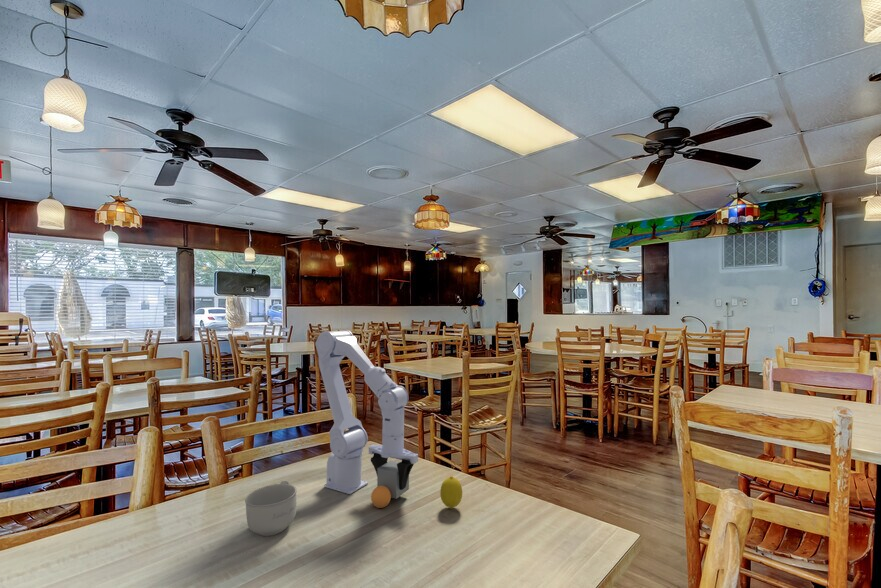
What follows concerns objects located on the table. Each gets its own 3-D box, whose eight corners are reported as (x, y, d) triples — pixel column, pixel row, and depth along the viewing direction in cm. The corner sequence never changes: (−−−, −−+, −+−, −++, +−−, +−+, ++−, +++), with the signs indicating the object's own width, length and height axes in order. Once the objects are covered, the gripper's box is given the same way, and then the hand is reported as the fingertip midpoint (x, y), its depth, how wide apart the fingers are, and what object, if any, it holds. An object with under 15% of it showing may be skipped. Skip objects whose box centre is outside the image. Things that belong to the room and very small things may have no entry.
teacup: (278, 545, 85) (279, 506, 86) (233, 538, 88) (234, 501, 88) (311, 512, 99) (312, 479, 99) (272, 507, 101) (273, 475, 102)
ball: (372, 508, 104) (364, 499, 101) (381, 489, 107) (373, 480, 104) (388, 513, 101) (380, 504, 98) (397, 493, 105) (389, 484, 102)
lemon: (453, 516, 98) (454, 483, 98) (435, 509, 101) (436, 477, 102) (466, 507, 103) (466, 475, 103) (448, 501, 106) (449, 470, 106)
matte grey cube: (377, 493, 106) (377, 468, 106) (390, 484, 112) (390, 460, 112) (396, 498, 103) (396, 472, 104) (408, 489, 109) (409, 464, 109)
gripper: (361, 433, 107) (360, 485, 107) (408, 442, 101) (407, 497, 100) (377, 426, 114) (377, 475, 113) (422, 434, 107) (421, 486, 106)
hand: (392, 485), depth 107 cm, fingers closed on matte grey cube, 6 cm apart
